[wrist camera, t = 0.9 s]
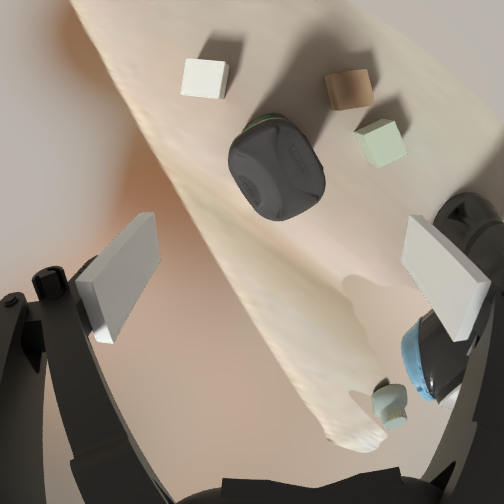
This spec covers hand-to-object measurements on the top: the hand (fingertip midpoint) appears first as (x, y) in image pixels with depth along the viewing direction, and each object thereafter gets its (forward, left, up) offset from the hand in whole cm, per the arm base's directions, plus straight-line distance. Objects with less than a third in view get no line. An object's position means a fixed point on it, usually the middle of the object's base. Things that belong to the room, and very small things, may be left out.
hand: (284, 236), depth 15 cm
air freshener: (-30, +55, -31) cm, 70 cm away
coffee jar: (0, 0, -31) cm, 31 cm away
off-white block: (+9, -10, -31) cm, 34 cm away
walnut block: (-10, -9, -31) cm, 34 cm away
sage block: (-15, -2, -31) cm, 34 cm away
